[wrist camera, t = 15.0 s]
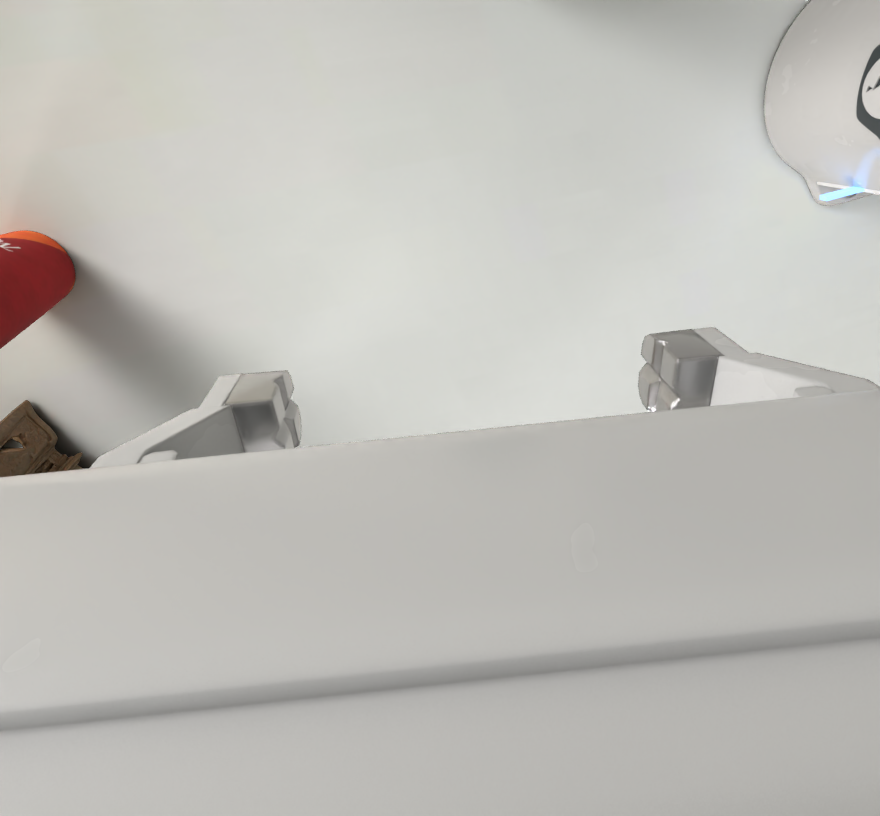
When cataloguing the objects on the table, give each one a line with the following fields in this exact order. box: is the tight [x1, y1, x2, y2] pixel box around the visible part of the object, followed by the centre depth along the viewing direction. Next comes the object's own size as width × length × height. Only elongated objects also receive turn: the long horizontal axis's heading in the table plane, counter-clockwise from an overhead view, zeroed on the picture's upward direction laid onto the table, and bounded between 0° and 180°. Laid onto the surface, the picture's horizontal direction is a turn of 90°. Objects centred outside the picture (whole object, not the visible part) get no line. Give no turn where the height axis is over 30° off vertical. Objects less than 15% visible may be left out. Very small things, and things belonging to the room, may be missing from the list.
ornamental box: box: [0, 400, 83, 477], centre depth 56 cm, size 35×18×18 cm, turn 35°
